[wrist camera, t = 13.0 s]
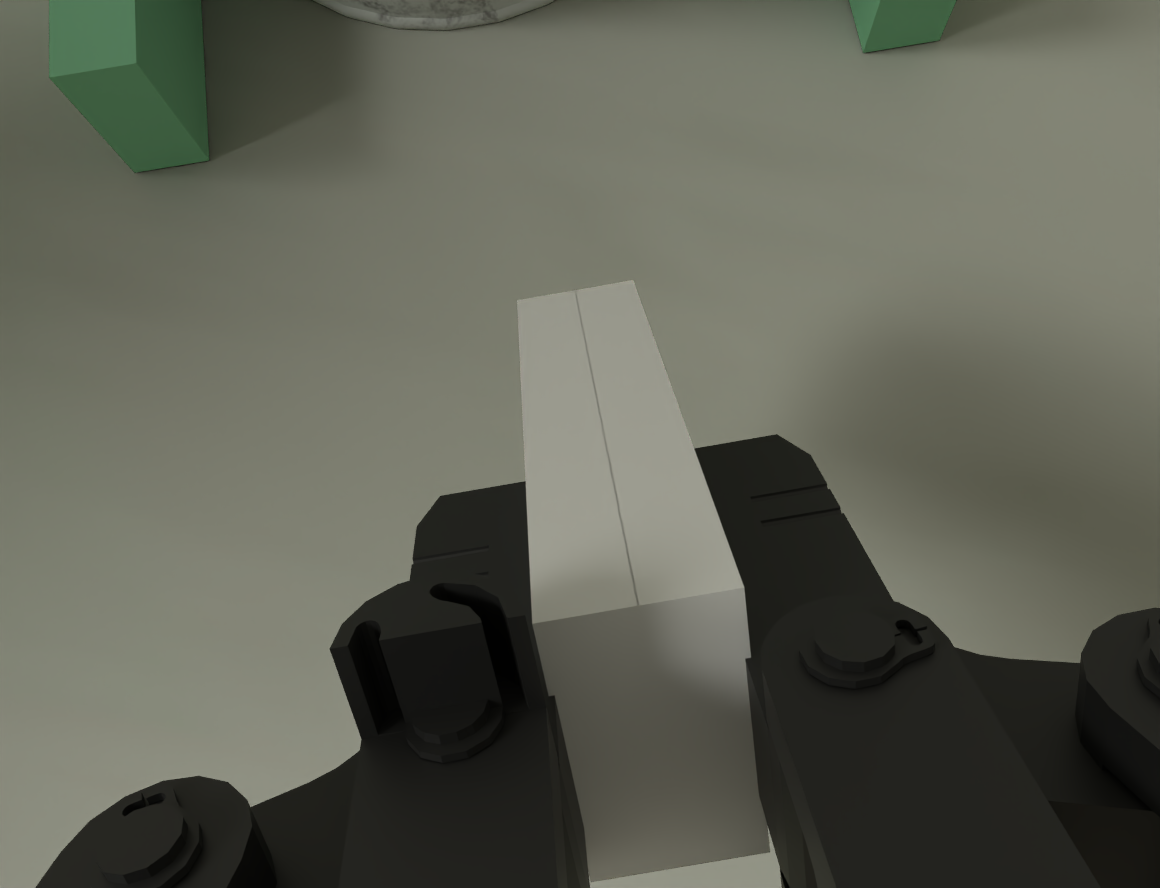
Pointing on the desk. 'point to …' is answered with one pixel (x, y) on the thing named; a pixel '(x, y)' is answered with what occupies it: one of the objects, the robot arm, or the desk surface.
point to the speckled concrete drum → (432, 12)
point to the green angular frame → (177, 74)
